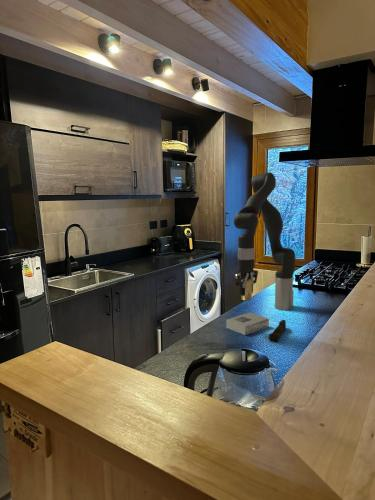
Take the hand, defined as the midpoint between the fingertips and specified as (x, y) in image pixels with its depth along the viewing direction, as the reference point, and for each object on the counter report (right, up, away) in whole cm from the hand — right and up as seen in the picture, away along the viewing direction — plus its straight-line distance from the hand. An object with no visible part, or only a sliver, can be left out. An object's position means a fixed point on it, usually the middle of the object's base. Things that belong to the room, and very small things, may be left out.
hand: (246, 293), depth 159 cm
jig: (+1, -16, +4) cm, 17 cm away
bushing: (0, -2, 0) cm, 2 cm away
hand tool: (+13, -18, -5) cm, 23 cm away
